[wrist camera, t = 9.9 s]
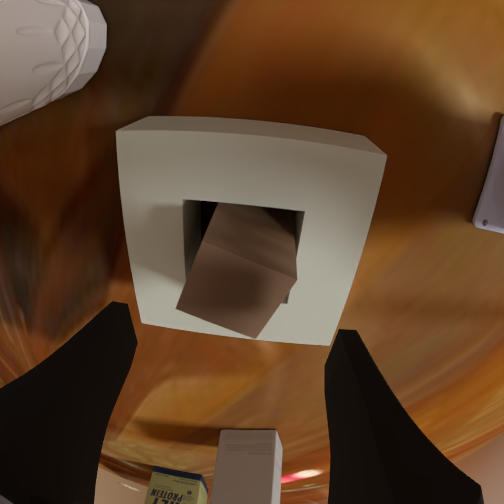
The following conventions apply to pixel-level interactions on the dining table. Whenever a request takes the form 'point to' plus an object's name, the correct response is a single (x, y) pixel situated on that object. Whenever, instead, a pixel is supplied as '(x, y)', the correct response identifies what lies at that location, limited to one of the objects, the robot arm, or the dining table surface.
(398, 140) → the dining table surface
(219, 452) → the supplement box
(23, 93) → the white cup
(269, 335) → the socket block
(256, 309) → the peg
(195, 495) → the protein box
